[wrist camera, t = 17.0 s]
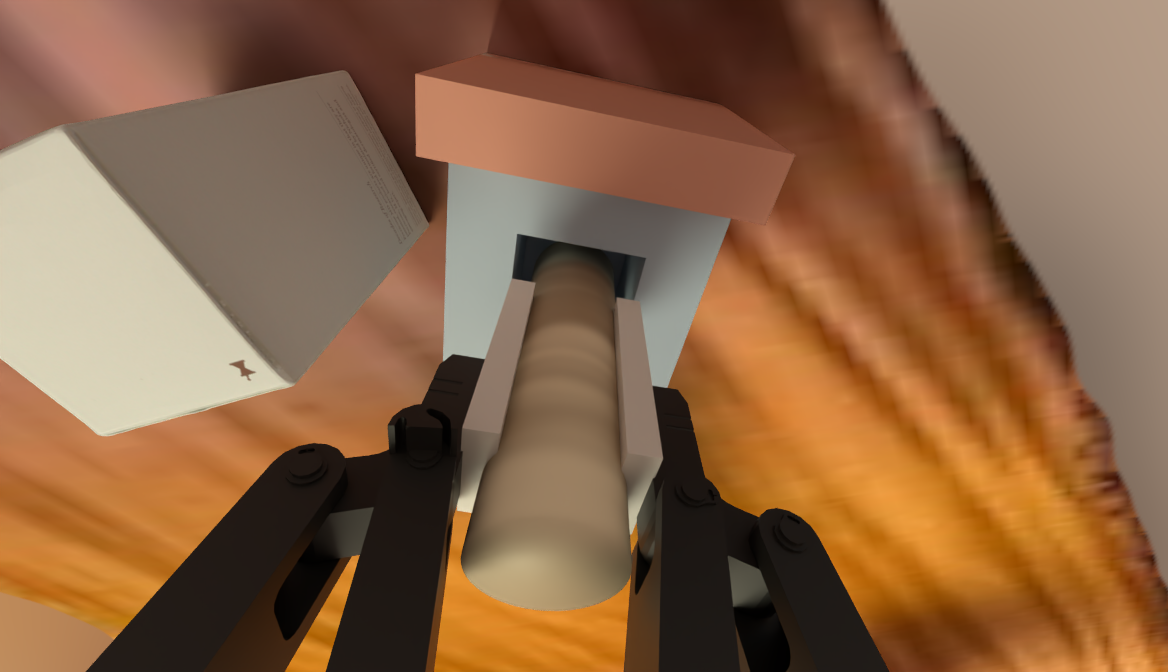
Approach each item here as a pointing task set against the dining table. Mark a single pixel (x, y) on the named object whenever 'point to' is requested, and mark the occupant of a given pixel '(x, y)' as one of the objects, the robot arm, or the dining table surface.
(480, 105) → the peg insertion fixture
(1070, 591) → the dining table surface
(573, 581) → the dowel
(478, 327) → the socket block
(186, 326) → the supplement box
